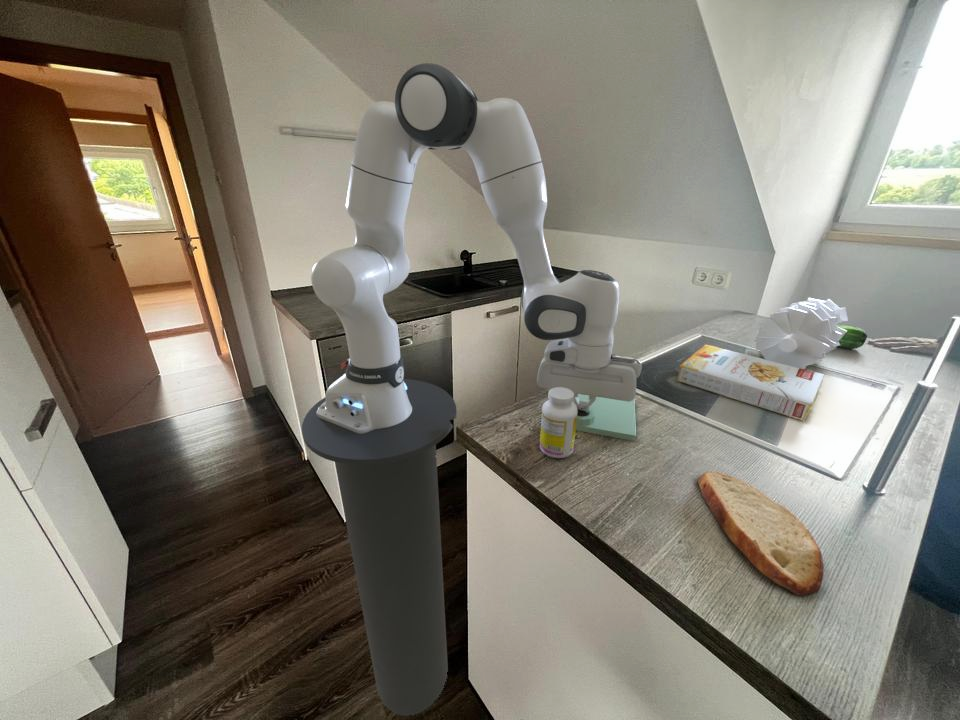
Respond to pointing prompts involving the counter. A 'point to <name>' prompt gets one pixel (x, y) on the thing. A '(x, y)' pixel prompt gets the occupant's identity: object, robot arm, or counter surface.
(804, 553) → the bread slice
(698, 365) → the cereal box
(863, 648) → the counter surface
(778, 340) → the spiral staircase
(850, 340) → the vegetable
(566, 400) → the supplement bottle
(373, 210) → the robot arm
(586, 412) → the button
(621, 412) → the scale
